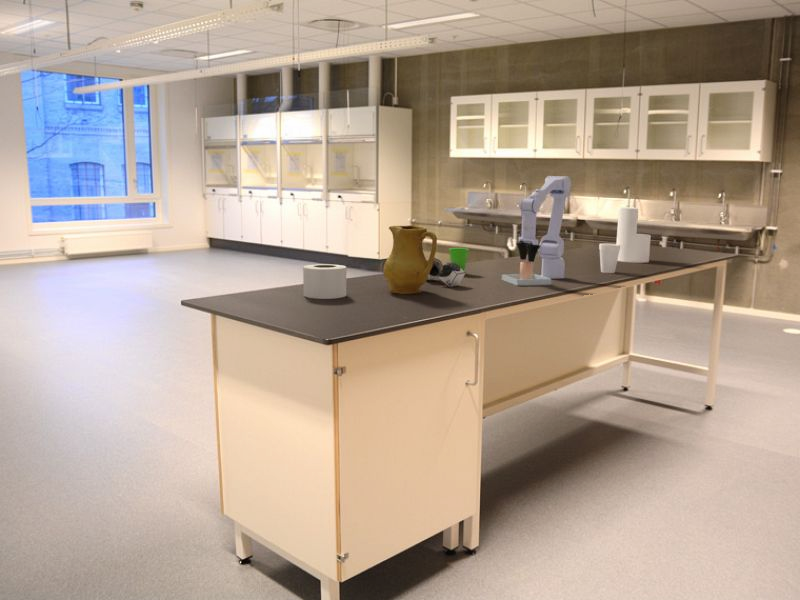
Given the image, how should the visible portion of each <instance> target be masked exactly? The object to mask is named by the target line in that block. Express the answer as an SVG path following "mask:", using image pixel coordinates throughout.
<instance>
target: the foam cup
mask: <svg viewBox="0 0 800 600" xmlns="http://www.w3.org/2000/svg"><path fill="white" fill-rule="evenodd" d="M598 246H599V247H598V249H599V258H600V259H599V261H600V262H599V263H600V272H601V273H604V274H605V273H606V274H614V273H615V272H616V269H617V264H618V261H617V260H618V255H619V250H620V245H619V244H616V243H609V242H608V243H599V244H598Z"/></svg>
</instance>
